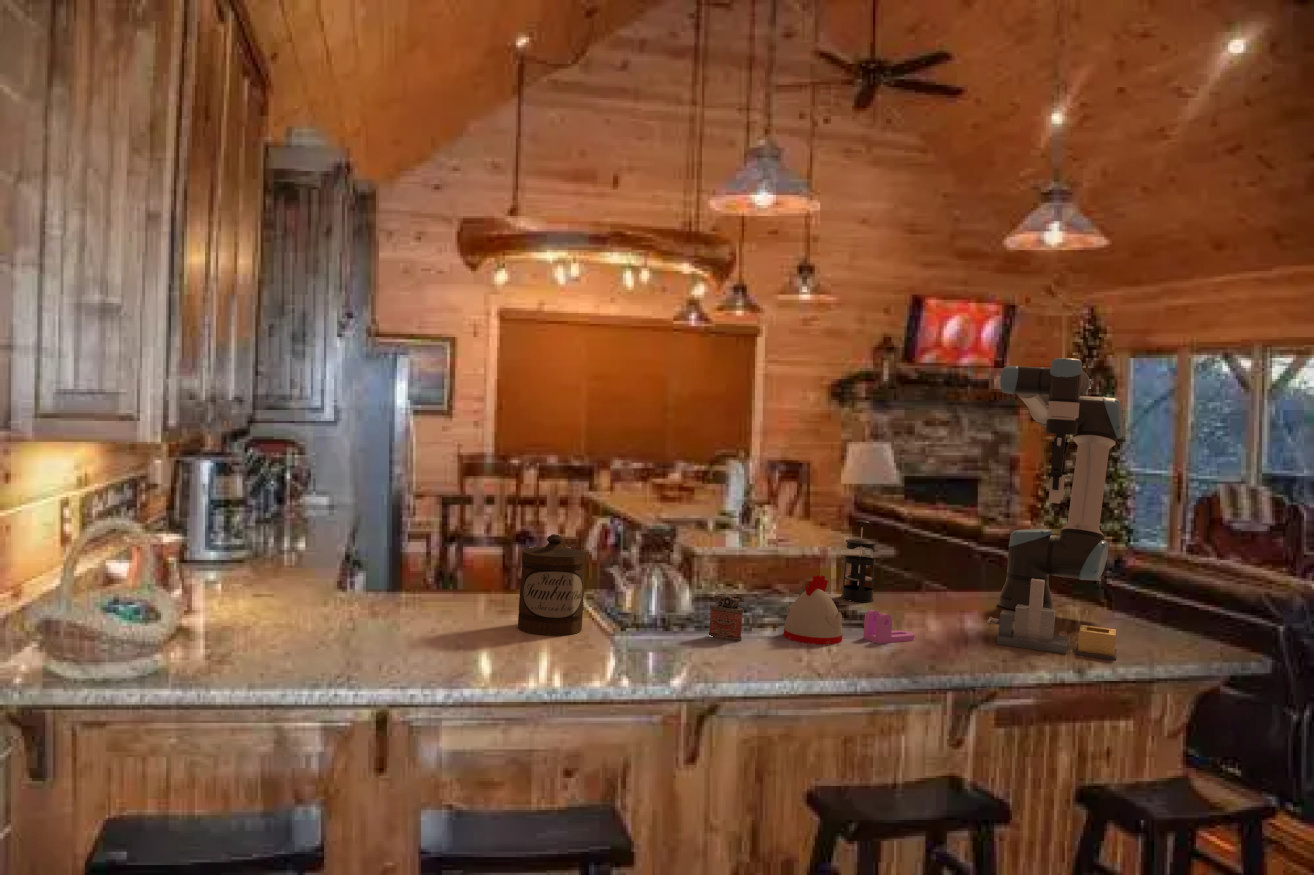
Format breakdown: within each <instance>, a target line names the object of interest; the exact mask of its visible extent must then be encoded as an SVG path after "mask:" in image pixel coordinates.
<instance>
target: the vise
mask: <svg viewBox="0 0 1314 875" xmlns="http://www.w3.org/2000/svg"><path fill="white" fill-rule="evenodd" d="M1044 583H1045V580H1040V579H1031V586H1030V599H1029V606H1027V605H1019V604H1017V606H1016V609H1015V610H1005V609H1002V610H1001V611H1000V614H999V618H996V617H993V616H989V618H988V619H987V621H986V624H987V625H991V624H992V625H993V624H994V625H998V634H997V636H996V645H999V646H1000V645H1001V646H1007V647H1014V648H1021V649H1028V650H1034V649H1036V651H1042V652H1050V653H1056V654H1063V655H1067V652H1068V648H1069V644H1070V643H1069V642H1070V636H1066V635H1057V634H1055V621H1056V612H1057V611H1056V608H1053V609H1050V608H1043V596H1044Z"/></svg>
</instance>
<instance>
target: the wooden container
mask: <svg viewBox="0 0 1314 875" xmlns="http://www.w3.org/2000/svg"><path fill="white" fill-rule="evenodd" d="M546 541H547V542H548V543H547V544H546V546H533V547H526V548H524V549H522V553H521V554H522V555H521V574H520V576H521V577H520V587H519V599H518V616H517V617H518V618H517V628H518V629H519V630H520V631H522V632H524V633H527V634H531V635H538V636H539V635H540V636H552V637H553V636H554V637H556V636H558V637H559V636H560V637H562V636H570V635H573V634H577V633H580V632H581V631H582V629H583V614H584V598H585V597H584V595H585V572H586V571H585V568H586V567H585V564H586V563H585V562H586V552H585V551H583V550H580V549H577V548H571V547H570V548H569V547H563V545H562V544H561V543H562V541H563V539H562V536H560V535H559V534H555V533H554V534H553V533H552V534H551V535H549V536H547V538H546Z"/></svg>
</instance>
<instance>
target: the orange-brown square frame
mask: <svg viewBox="0 0 1314 875" xmlns="http://www.w3.org/2000/svg"><path fill="white" fill-rule="evenodd" d="M1116 631H1117V629H1115V628H1107V627H1100V626H1092V625H1085V624H1080V627H1079V631H1078V634H1079V635H1078V644H1079V645H1078V651H1080V652H1088V653H1095V654H1102V655H1109V656H1114V651H1115V649H1116V637H1117V636H1116V635H1117V633H1116Z"/></svg>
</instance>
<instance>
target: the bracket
mask: <svg viewBox="0 0 1314 875" xmlns="http://www.w3.org/2000/svg"><path fill="white" fill-rule="evenodd" d="M863 623H864V624H863V639H864V638H865V640H867V641H870V642H874V643H877V644H885V643H886V644H887V643H898V642H911V641H914V640H915V633H914V632H911V631H906V630H893V629H892V628H893V618H892V616H891V615H890V614H888V613H884V612H882V613H880V612H878V611H877V610H875V609H869V610H868V611H867V612H865V615H864V622H863Z"/></svg>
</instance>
